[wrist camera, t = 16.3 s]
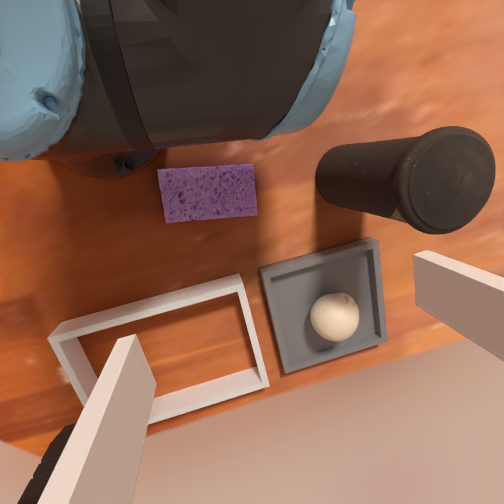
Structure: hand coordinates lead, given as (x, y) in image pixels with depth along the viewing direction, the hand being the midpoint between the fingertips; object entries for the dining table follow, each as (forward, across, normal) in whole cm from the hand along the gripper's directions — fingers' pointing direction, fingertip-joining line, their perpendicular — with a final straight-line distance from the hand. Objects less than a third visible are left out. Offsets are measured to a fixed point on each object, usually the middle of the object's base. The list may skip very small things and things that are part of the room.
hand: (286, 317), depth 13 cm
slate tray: (+29, +11, -18) cm, 35 cm away
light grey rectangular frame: (+29, -14, -18) cm, 36 cm away
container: (+29, +17, +2) cm, 34 cm away
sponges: (+29, -2, +4) cm, 30 cm away
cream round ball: (+28, +11, -18) cm, 35 cm away
